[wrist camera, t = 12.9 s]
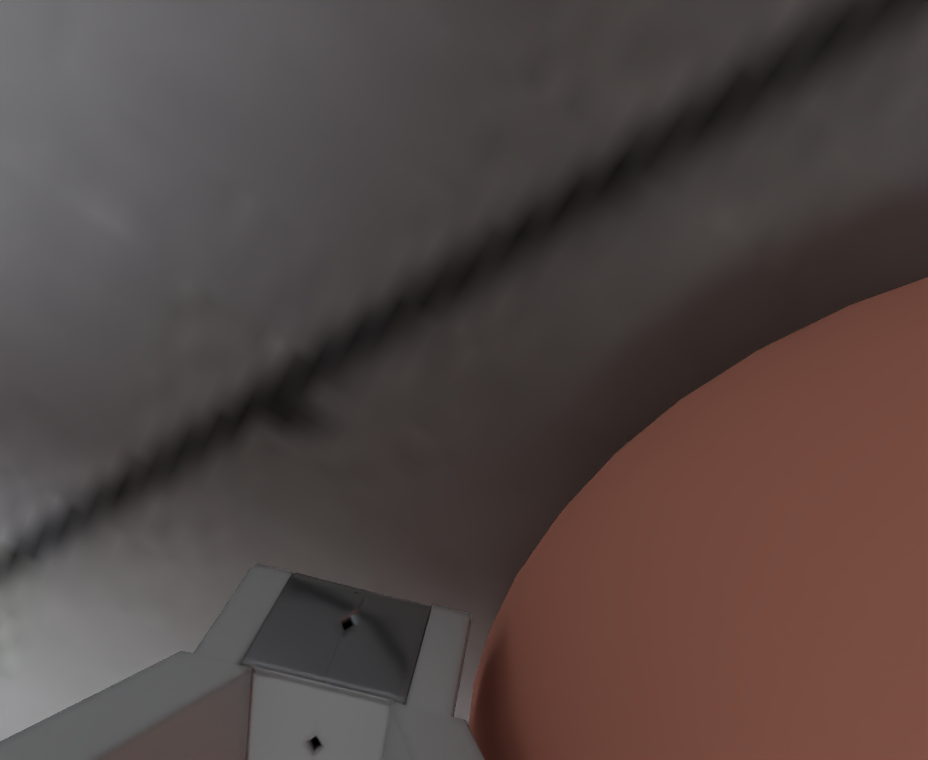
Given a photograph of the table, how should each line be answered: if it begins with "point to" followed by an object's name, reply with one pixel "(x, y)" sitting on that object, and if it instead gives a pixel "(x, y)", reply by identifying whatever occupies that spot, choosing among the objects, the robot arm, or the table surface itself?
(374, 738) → the robot arm
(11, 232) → the table surface
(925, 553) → the teapot
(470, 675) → the table surface
